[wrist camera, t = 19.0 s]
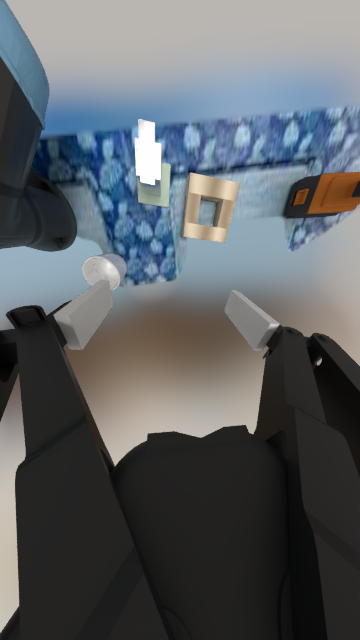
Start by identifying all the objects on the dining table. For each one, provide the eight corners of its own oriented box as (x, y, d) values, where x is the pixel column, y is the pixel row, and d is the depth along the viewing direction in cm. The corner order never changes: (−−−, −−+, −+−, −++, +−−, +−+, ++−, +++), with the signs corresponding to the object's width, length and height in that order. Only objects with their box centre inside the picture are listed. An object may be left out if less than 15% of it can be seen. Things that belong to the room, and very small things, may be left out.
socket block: (181, 236, 36) (183, 236, 32) (187, 179, 30) (190, 172, 26) (219, 241, 37) (224, 242, 34) (232, 188, 31) (240, 183, 28)
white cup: (124, 283, 41) (114, 296, 33) (97, 271, 38) (79, 282, 30) (133, 260, 38) (124, 268, 29) (104, 244, 35) (85, 248, 27)
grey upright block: (145, 199, 30) (134, 180, 19) (144, 164, 27) (131, 116, 16) (161, 202, 31) (159, 185, 20) (162, 167, 28) (161, 124, 17)
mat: (138, 202, 31) (138, 202, 30) (136, 158, 27) (136, 156, 27) (168, 207, 32) (168, 207, 32) (170, 165, 28) (170, 164, 28)
